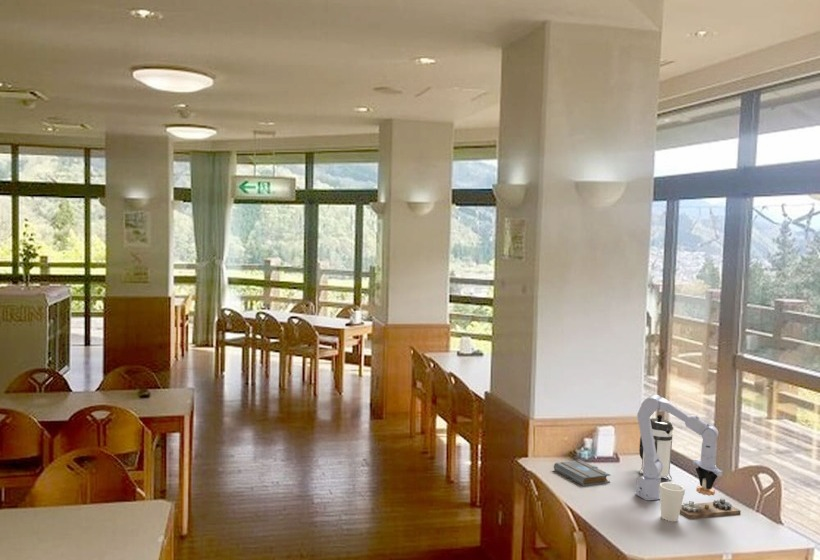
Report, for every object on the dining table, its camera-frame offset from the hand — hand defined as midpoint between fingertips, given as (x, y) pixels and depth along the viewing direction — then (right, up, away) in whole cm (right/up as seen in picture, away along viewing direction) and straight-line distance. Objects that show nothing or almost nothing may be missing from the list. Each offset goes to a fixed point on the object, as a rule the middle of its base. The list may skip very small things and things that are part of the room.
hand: (705, 487), depth 288 cm
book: (-44, -6, +33) cm, 55 cm away
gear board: (-1, -10, -2) cm, 10 cm away
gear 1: (-8, -8, -4) cm, 12 cm away
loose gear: (0, -2, 0) cm, 2 cm away
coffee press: (-8, -7, +40) cm, 41 cm away
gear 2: (+7, -8, +1) cm, 11 cm away
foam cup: (-19, -9, -11) cm, 24 cm away
